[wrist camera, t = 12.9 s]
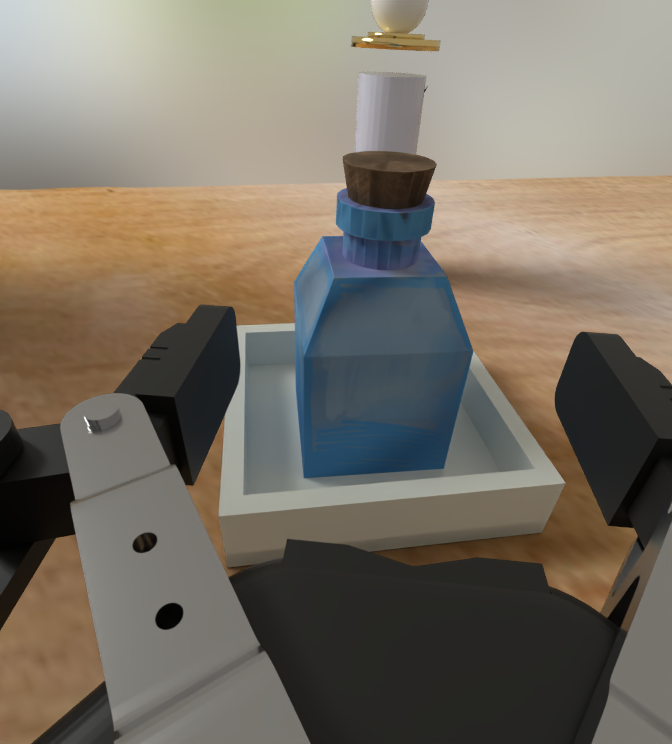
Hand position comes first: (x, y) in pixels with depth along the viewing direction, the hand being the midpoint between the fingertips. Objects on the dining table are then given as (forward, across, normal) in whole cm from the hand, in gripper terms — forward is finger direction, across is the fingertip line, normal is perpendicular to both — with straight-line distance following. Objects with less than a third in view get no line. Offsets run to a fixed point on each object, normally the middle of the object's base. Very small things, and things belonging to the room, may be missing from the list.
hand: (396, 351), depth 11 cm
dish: (+8, +1, +10) cm, 13 cm away
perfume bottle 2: (+8, +1, +9) cm, 12 cm away
